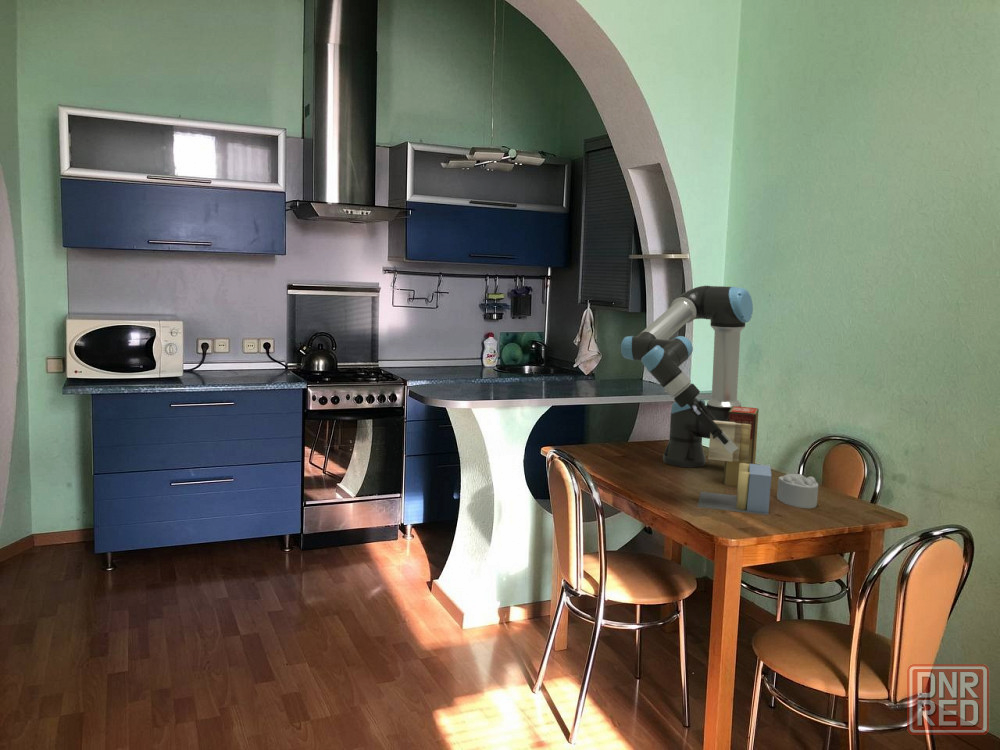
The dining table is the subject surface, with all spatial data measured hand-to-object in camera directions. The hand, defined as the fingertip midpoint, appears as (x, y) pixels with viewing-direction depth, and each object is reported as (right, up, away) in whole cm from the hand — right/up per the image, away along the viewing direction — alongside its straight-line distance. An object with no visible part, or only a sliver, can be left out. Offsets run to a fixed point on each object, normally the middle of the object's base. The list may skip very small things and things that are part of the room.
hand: (734, 449), depth 249 cm
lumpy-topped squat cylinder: (+21, -18, +6) cm, 28 cm away
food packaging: (+9, -14, +28) cm, 33 cm away
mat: (0, -17, +2) cm, 17 cm away
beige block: (-2, -3, +1) cm, 4 cm away
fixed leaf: (+6, -17, +1) cm, 18 cm away
